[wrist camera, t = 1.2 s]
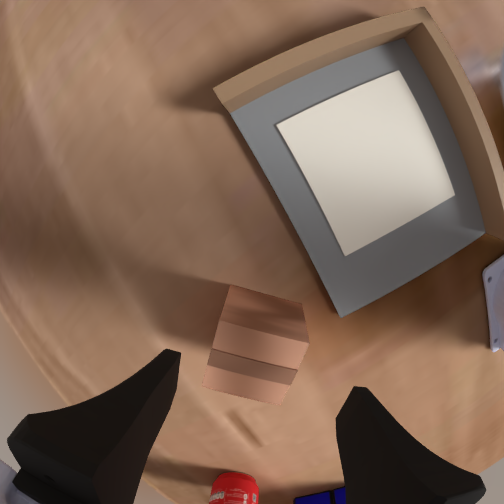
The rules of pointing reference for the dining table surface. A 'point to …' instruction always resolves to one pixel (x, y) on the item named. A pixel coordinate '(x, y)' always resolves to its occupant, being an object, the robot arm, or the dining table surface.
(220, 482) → the beverage can
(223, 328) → the block
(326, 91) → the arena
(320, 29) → the dining table surface
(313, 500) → the puzzle cube
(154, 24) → the dining table surface
